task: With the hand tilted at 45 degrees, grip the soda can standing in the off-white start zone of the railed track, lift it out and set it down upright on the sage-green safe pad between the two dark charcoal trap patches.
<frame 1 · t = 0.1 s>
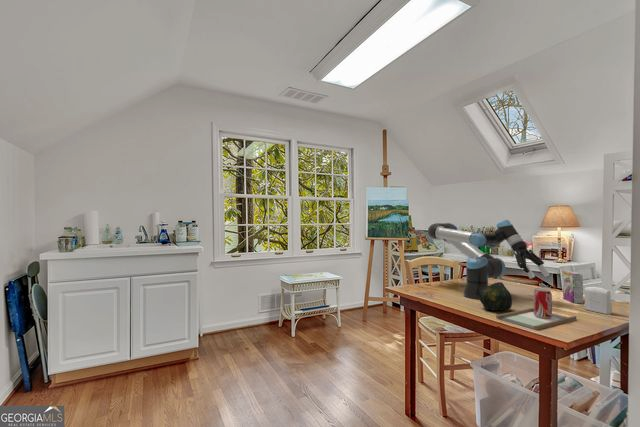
hand: (540, 276, 172), 15 cm above the table, tool tilted 35°, fingers open, 13 cm apart
squash: (495, 309, 164), on the table
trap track: (536, 319, 147), on the table
soda can: (542, 317, 150), resting on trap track
candy bar box: (572, 301, 179), on the table
photo printer: (597, 312, 158), on the table
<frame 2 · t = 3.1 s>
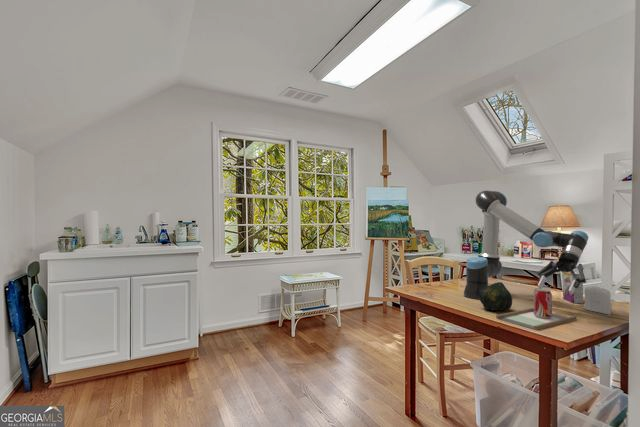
hand: (554, 289, 153), 13 cm above the table, tool tilted 45°, fingers open, 13 cm apart
nothing on the table moved.
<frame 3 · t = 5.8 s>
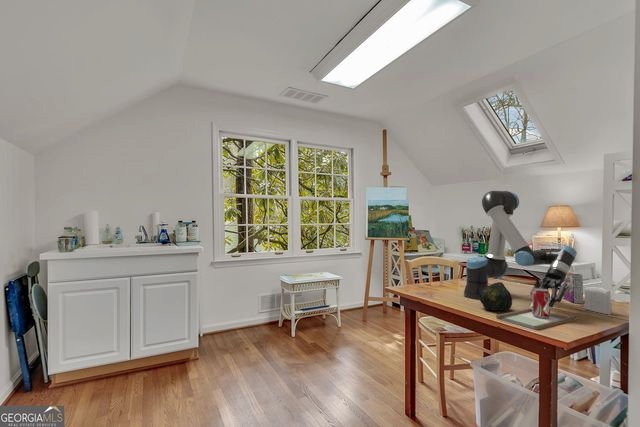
hand: (538, 310, 148), 4 cm above the table, tool tilted 45°, fingers open, 5 cm apart
soda can: (541, 317, 150), resting on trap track, touching gripper
everything else where it was.
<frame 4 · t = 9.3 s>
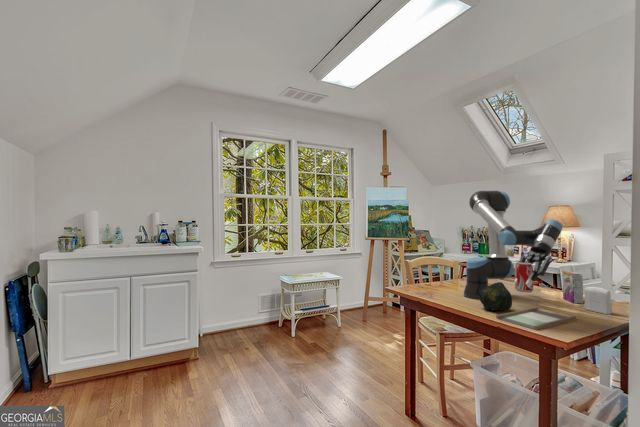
hand: (522, 284, 143), 17 cm above the table, tool tilted 45°, fingers closed on soda can, 4 cm apart
soda can: (524, 291, 146), point 13 cm above the table, touching gripper
everything else where it was.
when the fingers open (5 cm above the table, at t = 12.3 s): soda can drops 1 cm, resting on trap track.
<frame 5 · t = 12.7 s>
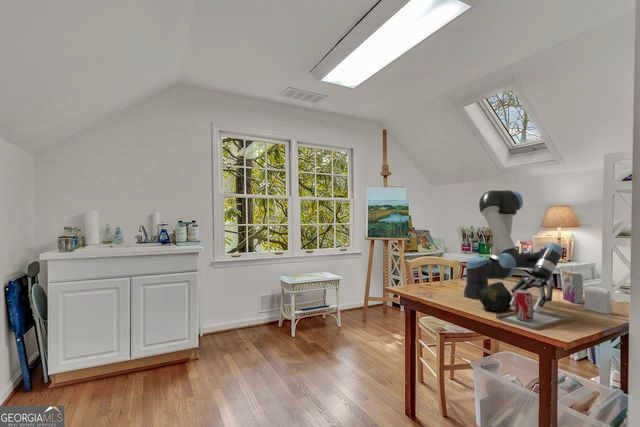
hand: (523, 308, 143), 6 cm above the table, tool tilted 45°, fingers open, 10 cm apart
soda can: (524, 319, 146), resting on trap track
everything else where it was.
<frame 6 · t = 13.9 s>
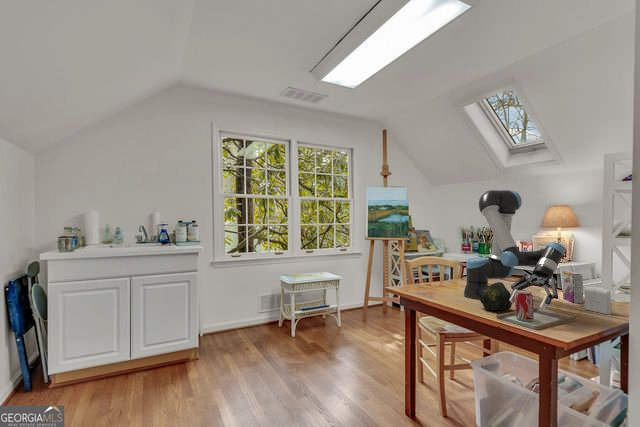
hand: (525, 305, 144), 7 cm above the table, tool tilted 45°, fingers open, 13 cm apart
nothing on the table moved.
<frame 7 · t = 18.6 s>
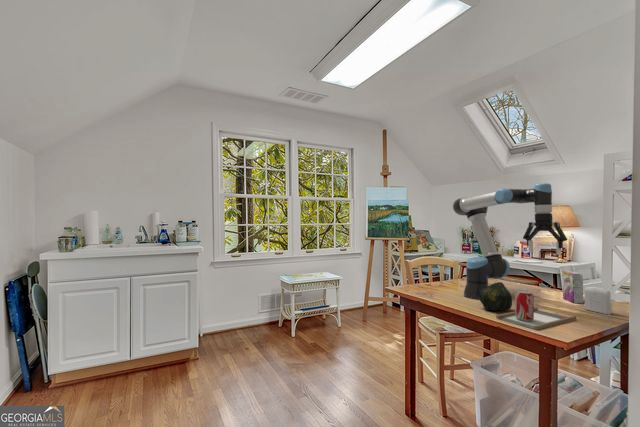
hand: (544, 253, 165), 29 cm above the table, tool pointing down, fingers open, 13 cm apart
nothing on the table moved.
at the end: soda can inside the target area (1.4 cm from its centre), resting on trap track; soda can tilted 0°; the gripper is holding nothing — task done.
